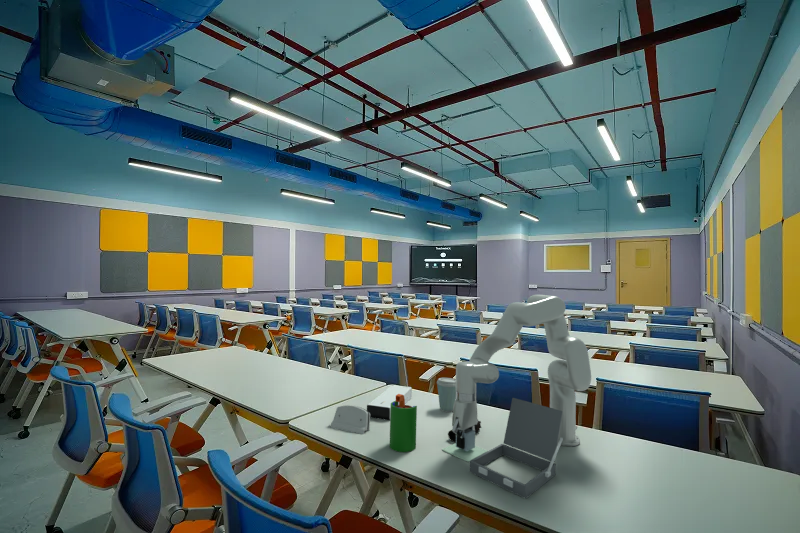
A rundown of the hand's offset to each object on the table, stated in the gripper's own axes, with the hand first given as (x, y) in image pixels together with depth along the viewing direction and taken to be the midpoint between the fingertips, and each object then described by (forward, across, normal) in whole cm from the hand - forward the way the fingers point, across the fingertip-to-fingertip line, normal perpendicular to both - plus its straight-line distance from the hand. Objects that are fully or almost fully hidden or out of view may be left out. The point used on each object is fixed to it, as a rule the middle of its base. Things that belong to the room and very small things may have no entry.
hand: (465, 444), depth 138 cm
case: (+2, 0, +20) cm, 21 cm away
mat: (+2, 0, 0) cm, 2 cm away
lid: (-9, -12, +20) cm, 25 cm away
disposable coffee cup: (+3, -29, -32) cm, 43 cm away
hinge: (+3, +19, -45) cm, 49 cm away
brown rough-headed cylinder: (+3, -12, -9) cm, 15 cm away
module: (+1, 0, 0) cm, 1 cm away
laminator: (+3, -10, -53) cm, 54 cm away
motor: (+2, +15, -18) cm, 24 cm away
